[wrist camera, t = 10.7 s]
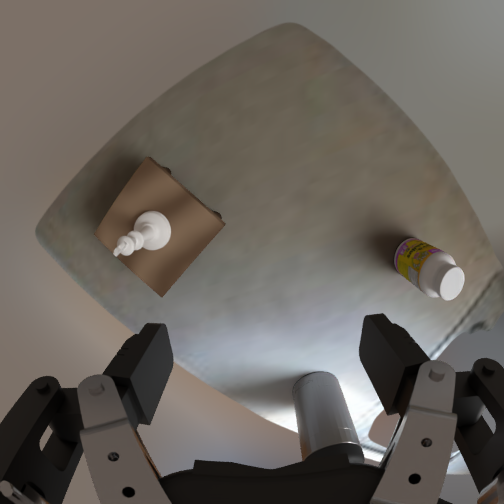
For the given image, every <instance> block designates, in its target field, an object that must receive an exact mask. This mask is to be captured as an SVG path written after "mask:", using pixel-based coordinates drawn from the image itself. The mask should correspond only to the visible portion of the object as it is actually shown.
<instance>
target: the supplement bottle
mask: <svg viewBox="0 0 504 504" xmlns="http://www.w3.org/2000/svg"><path fill="white" fill-rule="evenodd" d="M394 264H395V267H396V270H397V271H398V272H399V273H400V274H401V275H402V276H403V277H404V278H406V279H407V280H408V281H410V282H411V283H412V284H413V285H415V286H416V287H417V288H419V289H420V290H421V291H422V292H423V293H425V294H426V295H428V296H430V297H441V298H442V299H444V300H452V299H454V298H455V297H456V296H457V295H458V294H459V293H460V291H461V290H462V287H463V284H464V273H463V271H462V269H461V268H459V267H458V266H456V264H455V261H454V259H453V258H452V257H451V256H450V255H449V254H448V253H446V252H444V251H442V250H440V249H438V248H436V247H433V246H431V245H429V244H427V243H425V242H423V241H421V240H419V239H416V238H410V239H407V240H405V241H403V242H402V243H401V244H400V245H399V247H398V248H397V250H396V253H395V257H394Z"/></svg>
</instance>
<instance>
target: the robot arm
mask: <svg viewBox="0 0 504 504" xmlns="http://www.w3.org/2000/svg"><path fill="white" fill-rule="evenodd" d="M359 356H360V360H361V363H362V365H363V367H364V369H365V371H366V373H367V375H368V376H369V378H370V380H371V382H372V385H373V387H374V389H375V391H376V393H377V395H378V397H379V399H380V401H381V403H382V405H383V407H384V409H385V411H386V413H387V415H392V414H396V413H399V415H400V419H399V421H398V423H397V426H396V428H395V431H394V433H393V436H392V438H391V440H390V443H389V445H388V447H387V450H386V452H385V454H384V456H383V458H382V460H381V462H380V464H379V466H378V467H376V466H373V465H369V464H365V463H364V454H363V451H362V448H361V445H360V442H359V439H358V436H357V433H356V430H355V427H354V424H353V421H352V418H351V416H350V413H349V410H348V407H347V404H346V401H345V398H344V395H343V393H342V390H341V387H340V384H339V382H338V379H337V378H336V377H335V376H334V375H333V374H330V373H326V372H317V373H312V374H309V375H307V376H304V377H303V378H301V379H300V380H299V381H298V382H297V383H296V384H295V386H294V388H293V397H294V404H295V412H296V419H297V426H298V433H299V440H300V447H301V453H302V462H298V463H295V464H291V465H288V466H285V467H281V468H277V469H264V468H258V467H253V466H247V465H242V464H238V463H233V462H217V461H202V460H195V462H194V467H193V469H189V470H184V471H179V472H176V473H172V474H169V475H167V476H164V477H162V476H161V474H160V473H159V471H158V470H157V468H156V466H155V464H154V463H153V461H152V459H151V457H150V455H149V453H148V451H147V449H146V447H145V445H144V444H143V441H142V440H141V437H140V435H139V433H138V432H137V427H138V425H139V424H145V425H150V424H151V421H152V419H153V416H154V414H155V411H156V408H157V406H158V403H159V401H160V398H161V396H162V393H163V391H164V388H165V386H166V383H167V381H168V378H169V376H170V373H171V371H172V368H173V353H172V349H171V344H170V340H169V336H168V331H167V327H166V325H165V324H161V323H146V324H145V326H144V327H143V329H142V330H141V331H140V333H139V334H135V335H133V336H132V337H130V338H129V339H127V340H126V341H125V343H124V344H123V346H122V347H121V349H120V350H119V351H118V352H117V355H115V357H114V358H113V360H112V361H111V362H110V364H109V365H108V367H107V368H106V369H105V371H104V372H103V374H102V375H93V376H90V377H87V378H86V379H84V380H83V381H82V382H81V383H80V384H79V386H78V388H61V386H60V384H59V382H58V380H57V379H56V378H54V377H51V376H43V377H40V378H38V379H36V380H34V381H33V382H32V383H31V384H30V385H29V387H28V388H27V389H26V390H25V392H24V393H23V394H22V395H21V397H20V398H19V399H18V401H17V402H16V403H15V404H14V406H13V407H12V408H11V410H10V411H9V412H8V414H7V415H6V416H5V418H4V419H3V421H2V422H1V424H0V504H62V502H63V499H64V497H65V494H66V492H67V489H68V487H69V484H70V482H71V479H72V477H73V475H74V472H75V470H76V467H77V465H78V463H79V461H80V458H81V456H82V454H83V452H84V454H85V457H86V461H87V465H88V468H89V471H90V474H91V478H92V481H93V483H94V486H95V489H96V492H97V495H98V498H99V500H100V503H101V504H452V503H450V502H447V501H445V500H443V499H441V498H439V496H440V493H441V489H442V486H443V483H444V479H445V476H446V472H447V468H448V464H449V460H450V456H451V451H452V446H453V440H455V442H456V444H457V446H458V448H459V450H460V452H461V454H462V456H463V458H464V461H465V463H466V465H467V467H468V469H469V471H470V474H471V476H472V478H473V480H474V482H475V485H476V487H477V489H478V492H479V497H478V501H477V504H504V368H503V367H502V366H501V365H500V364H499V363H498V362H496V361H494V360H492V359H488V358H481V359H478V360H477V361H476V362H475V363H474V365H473V367H472V369H471V371H467V372H455V371H454V369H453V368H452V367H451V366H450V365H449V364H447V363H445V362H442V361H438V360H430V358H429V357H428V356H427V355H426V354H425V352H424V351H423V350H422V349H421V348H420V346H419V345H418V344H417V343H415V340H414V339H413V338H412V337H410V335H409V333H408V332H407V331H406V330H405V329H404V328H402V327H400V326H399V325H397V324H395V323H394V324H392V323H391V322H390V320H389V319H388V318H387V317H386V316H385V315H384V314H383V313H381V314H373V315H366V316H365V318H364V321H363V328H362V334H361V340H360V346H359ZM486 408H487V409H488V411H489V412H490V414H491V415H492V417H493V418H494V420H495V422H496V430H495V433H494V434H493V433H492V431H491V429H490V427H489V426H488V424H487V423H486V421H485V420H484V418H483V416H482V413H483V412H484V410H485V409H486ZM48 425H49V426H50V428H51V429H52V430H53V432H52V434H51V436H50V438H49V439H48V441H47V443H46V445H45V447H44V448H43V450H42V451H41V450H40V446H39V442H40V439H41V437H42V435H43V433H44V432H45V430H46V428H47V427H48Z"/></svg>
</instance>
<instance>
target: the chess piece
mask: <svg viewBox="0 0 504 504" xmlns="http://www.w3.org/2000/svg"><path fill="white" fill-rule="evenodd" d="M170 236H171V227H170V224H169V221H168V220H167V218H166V217H165V216H164V215H163V214H161V213H159V212H157V211H148V212H145V213H143V214H142V215H141V216H139V217H138V219H137V220H136V222H135V225H134V231H131V232H129V233H128V235H127V236H121V237H120V238H119V239H118V241H117V248H115V250H114V253H113V254H114V255H115V256H118V255H119V254H120V253H121V254H122V255H125V256H128V255H131V254H132V253H133V251H134V250H139V249H141V248H142V247H143V248H145V249H148V250H157V249H160V248H162V247H164V246H165V245H166V244H167V243H168V241H169V239H170Z"/></svg>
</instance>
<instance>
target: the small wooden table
mask: <svg viewBox="0 0 504 504" xmlns="http://www.w3.org/2000/svg"><path fill="white" fill-rule="evenodd" d="M148 211H157V212H159V213H161V214H163V215H164V216H165V217H166V218H167V220H168V221H169V224H170V227H171V236H170V239H169V241H168V243H167V244H166V245H165V246H164V247H162V248H160V249H157V250H148V249H145V248H143V247H142V248H141V249H139V250H134V251H133V253H132V254H131V255H128V256H125V255H122V254H121V253H120V254H119V255H118V256H116V257H117V258H118V259H119V260H121V261H122V262H123V263H124V264H125V265H126V266H127V267H128V268H129V269H130V270H131V271H132V272H133V273H135V274H136V275H137V276H138V277H139V278H140V279H141V280H142V281H143V282H145V283H146V284H147V285H148V286H149V287H150V288H151V289H153V290H154V291H155V292H156V293H157V294H158V295H159V296H161V297H163V296H164V295H165V294H166V292H167V291H168V290H169V289H170V288H171V286H172V285H173V284H174V283H175V282H176V281H177V279H178V278H179V277H180V276H181V275H182V274H183V272H184V271H185V270H186V269H187V268H188V267H189V265H190V264H191V263H192V262H193V261H194V260H195V259H196V257H197V256H198V255H199V254H200V253H201V252H202V251H203V249H204V248H205V247H206V246H207V245H208V244H209V243H210V241H211V240H212V239H213V238H214V237H215V236H216V235H217V234H218V233H219V231H220V230H221V229H222V228H223V227H224V226H225V224H226V223H224V222H223V221H222V220H221V219H222V217H221V215H220V213H218V212H212V211H211V210H210V209H209V208H208V207H206V206H205V205H204V204H203V203H202V202H201V201H200V200H199V199H197V198H196V197H195V196H194V195H193V194H192V193H191V192H190V191H188V190H187V189H186V188H185V187H184V186H183V185H182V184H180V183H179V182H178V181H177V180H176V179H175V178H174V177H173V176H171V171H170V169H169V168H165V167H161V166H160V165H159V164H158V163H157V162H156V161H154V160H153V159H152V158H151V157H146V158H145V160H144V161H143V162H142V163H141V165H140V166H139V167H138V169H137V170H136V171H135V173H134V174H133V176H132V177H131V178H130V180H129V181H128V183H127V184H126V185H125V187H124V188H123V190H122V191H121V193H120V194H119V195H118V197H117V198H116V200H115V201H114V203H113V204H112V206H111V207H110V209H109V211H108V212H107V214H106V215H105V217H104V218H103V220H102V222H101V223H100V225H99V227H98V228H97V230H96V232H95V233H94V235H95V236H96V237H97V238H98V239H99V240H100V241H101V242H102V243H103V244H104V245H105V246H106V247H107V248H108V249H109V250H110V251H111V252H112V253H114V250H115V248H117V241H118V239H119V238H120V237H121V236H127V235H128V233H129V232H131V231H134V225H135V222H136V220H137V219H138V217H139V216H141V215H142V214H143V213H145V212H148Z"/></svg>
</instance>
